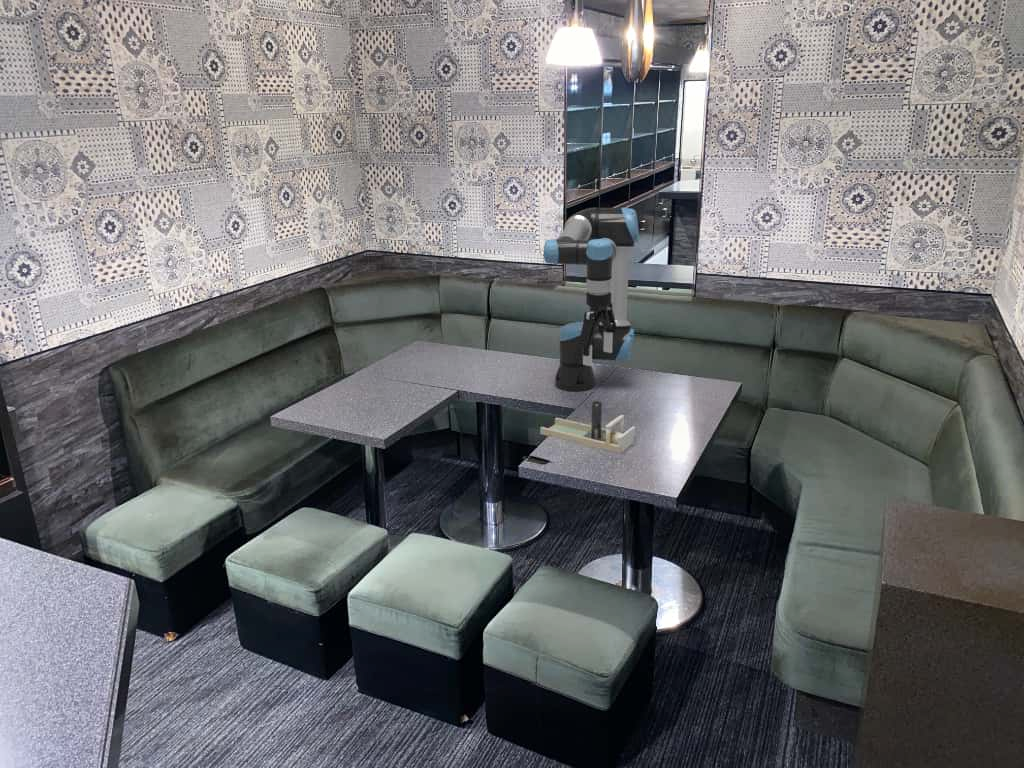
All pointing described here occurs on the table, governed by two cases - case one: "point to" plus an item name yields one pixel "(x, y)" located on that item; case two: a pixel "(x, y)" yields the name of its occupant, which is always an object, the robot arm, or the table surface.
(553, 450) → the table surface
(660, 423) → the table surface
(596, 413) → the rod
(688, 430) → the table surface
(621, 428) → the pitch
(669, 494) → the table surface
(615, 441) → the ball
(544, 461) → the phone
